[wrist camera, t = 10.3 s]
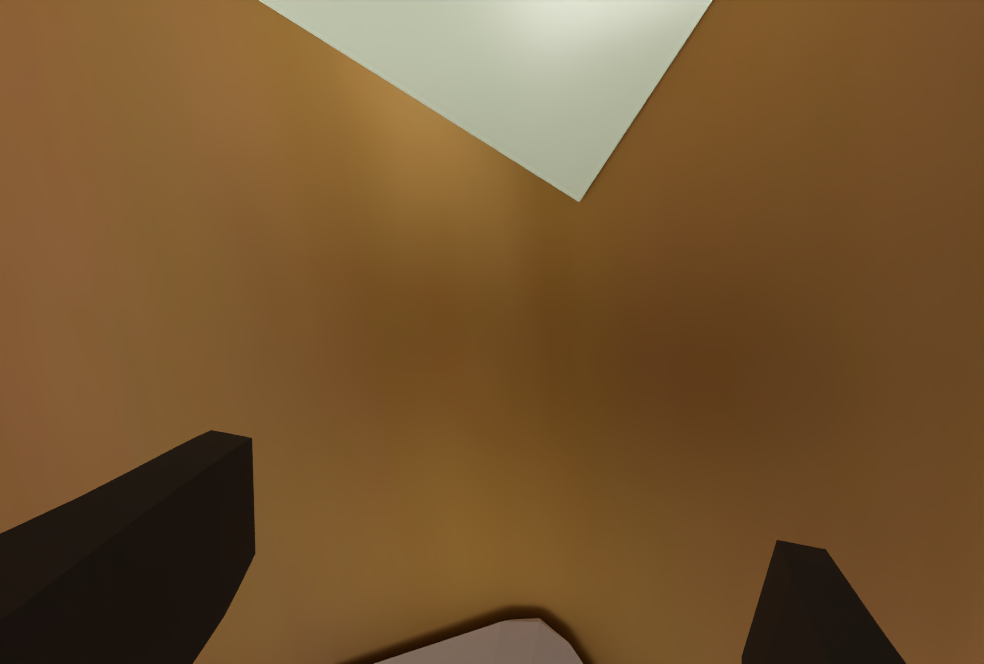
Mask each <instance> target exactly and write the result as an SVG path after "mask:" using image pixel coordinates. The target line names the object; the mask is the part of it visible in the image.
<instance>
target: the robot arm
mask: <svg viewBox="0 0 984 664" xmlns="http://www.w3.org/2000/svg"><path fill="white" fill-rule="evenodd" d="M254 555H255V524H254V490H253V455H252V438H249V437H244V436H239V435H234V434H228V433H223V432H218V431H213V430H211V431H209V432H206V433H204V434H202V435H200V436H197V437H195V438H193V439H191V440H189V441H187V442H185V443H183V444H181V445H179V446H177V447H175V448H173V449H172V450H170V451H168V452H166V453H164V454H162V455H160V456H158V457H156V458H154V459H152V460H150V461H149V462H147V463H145V464H143V465H141V466H139V467H137V468H135V469H133V470H131V471H129V472H127V473H125V474H124V475H122V476H120V477H118V478H116V479H114V480H112V481H110V482H108V483H106V484H104V485H102V486H100V487H98V488H96V489H94V490H92V491H90V492H88V493H86V494H84V495H82V496H80V497H78V498H76V499H74V500H72V501H70V502H68V503H66V504H63V505H61V506H59V507H57V508H55V509H53V510H51V511H48V512H46V513H44V514H42V515H40V516H38V517H36V518H33V519H31V520H29V521H27V522H25V523H23V524H20V525H18V526H16V527H14V528H12V529H10V530H8V531H5V532H3V533H1V534H0V664H193V662H194V661H195V659H196V658H197V656H198V655H199V653H200V652H201V650H202V649H203V647H204V646H205V644H206V643H207V641H208V640H209V638H210V637H211V635H212V634H213V632H214V631H215V629H216V628H217V626H218V625H219V623H220V622H221V620H222V619H223V617H224V615H225V614H226V612H227V610H228V608H229V606H230V604H231V602H232V600H233V598H234V596H235V594H236V592H237V590H238V588H239V586H240V584H241V582H242V580H243V578H244V576H245V574H246V572H247V570H248V568H249V566H250V563H251V561H252V559H253V557H254ZM742 664H906V663H905V661H904V660H903V659H902V657H901V656H900V655H899V653H898V652H897V651H896V649H895V648H894V647H893V645H892V644H891V642H890V641H889V640H888V638H887V637H886V635H885V634H884V633H883V631H882V630H881V628H880V627H879V626H878V624H877V623H876V621H875V620H874V618H873V617H872V616H871V614H870V613H869V611H868V610H867V608H866V607H865V606H864V604H863V603H862V601H861V600H860V598H859V597H858V595H857V594H856V593H855V591H854V590H853V588H852V587H851V585H850V584H849V582H848V581H847V579H846V578H845V577H844V575H843V574H842V572H841V571H840V569H839V568H838V566H837V565H836V564H835V562H834V561H833V559H832V558H831V556H830V555H829V554H828V552H827V551H826V549H821V548H815V547H810V546H805V545H800V544H795V543H790V542H785V541H779V540H777V542H776V545H775V548H774V552H773V555H772V558H771V561H770V565H769V568H768V571H767V575H766V578H765V581H764V585H763V588H762V591H761V595H760V598H759V601H758V605H757V608H756V611H755V615H754V618H753V621H752V624H751V628H750V631H749V634H748V638H747V641H746V644H745V648H744V651H743V654H742Z"/></svg>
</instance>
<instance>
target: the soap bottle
mask: <svg viewBox="0 0 984 664" xmlns="http://www.w3.org/2000/svg"><path fill="white" fill-rule="evenodd" d="M374 664H583V663H582V661H581V660H580V658H579V657H578V655H577V654H576V652H575V651H574V649H573V648H572V646H571V645H570V643H569V642H567V641H566V640H565V639H564V638H563V637H561V636H560V635H559V634H558V633H557V632H555V631H554V630H553V629H552V628H551V627H549V626H548V625H547V624H546V623H545V622H543V621H542V620H541V619H540V618H533V619H512V620H506V621H502V622H499V623H496V624H493V625H490V626H487V627H483V628H480V629H477V630H474V631H471V632H468V633H465V634H462V635H459V636H456V637H453V638H450V639H447V640H444V641H441V642H438V643H435V644H432V645H429V646H426V647H423V648H420V649H417V650H414V651H411V652H408V653H405V654H402V655H399V656H396V657H392V658H389V659H386V660H383V661H380V662H377V663H374Z"/></svg>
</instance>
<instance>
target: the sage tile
mask: <svg viewBox="0 0 984 664" xmlns="http://www.w3.org/2000/svg"><path fill="white" fill-rule="evenodd" d="M259 1H261V2H262V3H264V4H266V5H267V6H269V7H270V8H272V9H273V10H275V11H277V12H278V13H280V14H281V15H283V16H285V17H286V18H288V19H289V20H291V21H292V22H294V23H296V24H297V25H299V26H300V27H302V28H304V29H305V30H307V31H308V32H310V33H312V34H313V35H315V36H316V37H318V38H319V39H321V40H323V41H324V42H326V43H327V44H329V45H331V46H332V47H334V48H335V49H337V50H339V51H340V52H342V53H343V54H345V55H346V56H348V57H350V58H351V59H353V60H354V61H356V62H358V63H359V64H361V65H362V66H364V67H365V68H367V69H369V70H370V71H372V72H373V73H375V74H377V75H378V76H380V77H381V78H383V79H385V80H386V81H388V82H389V83H391V84H392V85H394V86H396V87H397V88H399V89H400V90H402V91H404V92H405V93H407V94H408V95H410V96H412V97H413V98H415V99H416V100H418V101H419V102H421V103H423V104H424V105H426V106H427V107H429V108H431V109H432V110H434V111H435V112H437V113H438V114H440V115H442V116H443V117H445V118H446V119H448V120H450V121H451V122H453V123H454V124H456V125H458V126H459V127H461V128H462V129H464V130H465V131H467V132H469V133H470V134H472V135H473V136H475V137H477V138H478V139H480V140H481V141H483V142H484V143H486V144H488V145H489V146H491V147H492V148H494V149H496V150H497V151H499V152H500V153H502V154H504V155H505V156H507V157H508V158H510V159H511V160H513V161H515V162H516V163H518V164H519V165H521V166H523V167H524V168H526V169H527V170H529V171H531V172H532V173H534V174H535V175H537V176H538V177H540V178H542V179H543V180H545V181H546V182H548V183H550V184H551V185H553V186H554V187H556V188H557V189H559V190H561V191H562V192H564V193H565V194H567V195H569V196H570V197H572V198H573V199H575V200H577V201H578V202H580V200H581V199H582V197H583V196H584V194H585V193H586V191H587V190H588V188H589V187H590V185H591V184H592V182H593V181H594V179H595V178H596V176H597V174H598V173H599V171H600V170H601V168H602V167H603V165H604V164H605V162H606V161H607V159H608V158H609V156H610V155H611V153H612V152H613V150H614V149H615V147H616V146H617V144H618V143H619V141H620V140H621V138H622V137H623V135H624V134H625V132H626V131H627V129H628V128H629V126H630V125H631V123H632V121H633V120H634V118H635V117H636V115H637V114H638V112H639V111H640V109H641V108H642V106H643V105H644V103H645V102H646V100H647V99H648V97H649V96H650V94H651V93H652V91H653V90H654V88H655V87H656V85H657V84H658V82H659V81H660V79H661V78H662V76H663V75H664V73H665V72H666V70H667V68H668V67H669V65H670V64H671V62H672V61H673V59H674V58H675V56H676V55H677V53H678V52H679V50H680V49H681V47H682V46H683V44H684V43H685V41H686V40H687V38H688V37H689V35H690V34H691V32H692V31H693V29H694V28H695V26H696V25H697V23H698V22H699V20H700V19H701V17H702V15H703V14H704V12H705V11H706V9H707V8H708V6H709V5H710V3H711V2H712V0H259Z"/></svg>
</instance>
